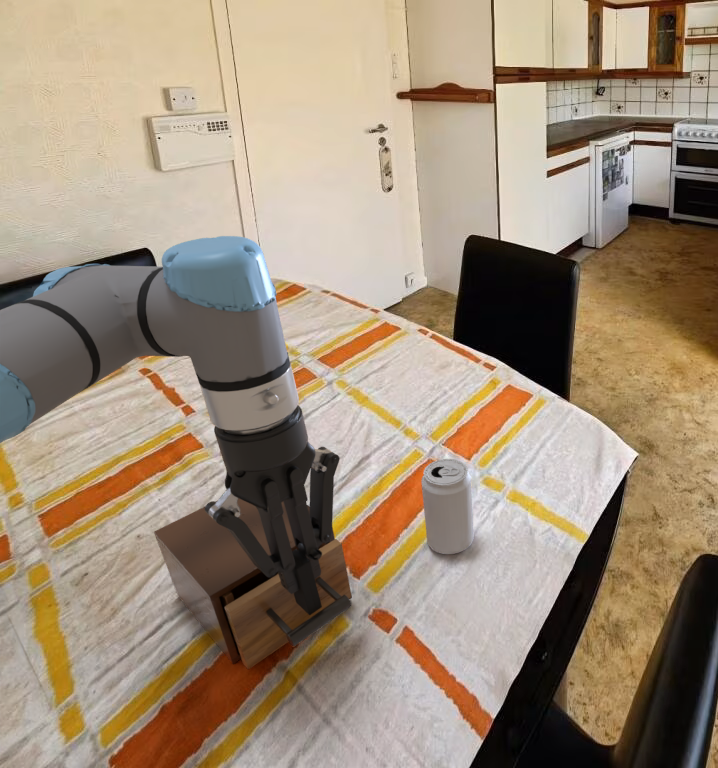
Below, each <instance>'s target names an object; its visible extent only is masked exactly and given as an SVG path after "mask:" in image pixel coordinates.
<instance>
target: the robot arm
mask: <svg viewBox="0 0 718 768" xmlns="http://www.w3.org/2000/svg"><path fill="white" fill-rule="evenodd" d="M161 256H162V257H161V265H162V266H156V265H155V266H154V265H153V266H150V265H148V266H147V265H110V264H107V263H104V264H100V263H86V264H84V265H78V266H67V267H66V266H65V267H60V268H57V269H55V270H53V271H51V272H49V273H48V274H46V275H45V277H44V278H43V280H42V281H41V283H40V285H39V286H37V287H36V289H35V290H34V291H33V294H32V296H31V297H29V298H27V299H24V300H21V301H19V302H17V303H14V304H12V305H9V306H7V307H4V308H2V309H0V444H1V443H3V442H5V441H7V440H10V439H12V438H14V437H16V436H18V435H20V434H21V433H24V432H25V431H26V429H27V428H28V427H29V426H30V425H32V424H33V423H35V422H36V421H38V420H39V419H41V418H43V417H44V416H46V415H47V414H49V413H50V412H51V411H53V410H54V409H57V407H59V406H61V405H62V404H64V403H65V402H67V401H69V400H70V399H72V398H73V397H75V396H77V395H78V394H80V393H81V392H84V391H85V390H86V389H88V388H90V387H91V386H93V385H95V384H97V383H98V382H100V381H102V380H103V379H105V378H106V377H107V376H109V375H111V374H112V373H115V372H116V371H118V370H119V369H121V368H122V367H124V366H126V365H127V364H129V363H130V362H132V361H134V360H135V359H139V358H142V357H173V358H179V357H189V358H190V360H191V364H192V366H193V369H194V372H195V375H196V378H197V382H198V384H199V386H200V389H201V393H202V397H203V401H204V403H205V407H206V410H207V414H208V417H209V421H210V423H211V425H213V426H214V428H213V432H214V435H215V439H216V442H217V445H218V448H219V451H220V455H221V458H222V462H223V464H224V467H225V470H226V474H225V479H224V487H225V491H224V492H223V493H222V495H220V497H219V498H218V499H217V500H218V501H217V500H216V501H217V502H215V501H214V500H211V501H209V502H207V504H206V505H205V506H204V507H205V512H206V513H207V514H208V515H209V516H210V517H211V518H213V519H214V520H215V521H216V522H217V523H218V524H219V525H221V526H223V527H226V528H227V529H228V530H229V531H230V533H231V534H232V535H233V537H234V538H235V539H236V541H237V542H238V543H239V545H240V546H241V547H242V549H243V550H244V551H245V553H246V554H247V555H248V557H249V558H250V559H251V561H252V562H253V563H254V565H255V566H256V567H257V568H258V569H259V570H260V571H261V572H263V573H264V574H265V575H266V576H267V577H273V576H274V575H275V574H276V573H277V572H278V574H279V577H280V581H281V584H282V586H283V587H284V588H285V589H286V590H287V591H288V592H289V593H291V594H293V593H294V597H295V600H296V603H297V604H298V605H299V606H300V607H301V608H302V609H303V610H304V611H306V612H307V613H308V614H309V615H311V614H313V613H314V612H316V611H317V610H318V609H320V608H321V607H322V605H321V601H320V597H319V593H318V590H317V586H316V582H315V579H316V578H317V577H319V576H320V575H321V568H320V564H319V559H320V558H321V556H322V552H321V551H320V550H319V549H318V548H319V547H320V545H321V544H322V543H328V542H329V541H330V540H331V538H332V527H333V518H334V517H333V516H334V515H333V514H334V486H335V485H334V482H335V474H336V471H337V469H338V466H339V463H340V459H341V458H340V456H339V455H338V454H336V452H334V451H332V450H330V449H329V448H327V447H326V446H319V447H318V448H315V447H314V446H313V445H312V444H311V443H310V442H309V435H308V431H307V425H306V423H305V418H304V414H303V409H302V407H301V406H300V405H299V403H300V396H299V393H298V388H297V385H296V380H295V375H294V371H293V368H292V367H293V366H292V363H291V361H290V356H289V352H288V350H287V345H286V340H285V336H284V331H283V326H282V321H281V317H280V313H279V307H278V302H277V297H276V296H277V289H276V287H275V284H274V283H273V282H272V278H271V274H270V270H269V268H268V266H267V261H266V258H265V254H264V251H263V250H262V248H261V246H260V245H259V244H258V243H257V242H256V241H254V240H253V239H250V238H248V237H245V236H238V235H237V236H236V235H220V236H216V237H202V238H196V239H191V240H187V241H184V242H180V243H177V244H175V245H172V246H170V247H169V248H167V249H166V250H165V251H164V252H163V254H162V255H161ZM308 476H309V507H310V510H309V511H308V507H307V505H308V503H307V502H308V495H307V491H306V487H305V485H306V482H307V480H308ZM238 499H241V500H243V501H246V502H248V503H250V504H252V505H254V506H256V508H257V510H258V512H259V515H260V519H261V522H262V526H263V529H264V532H265V536H266V539H267V543H268V546H269V550H270V553H271V555H268V554H267V553H266V551H265V550H264V548H263V547H262V546H261V544H260V543H259V542H258V540H257V539H256V537H255V536H254V535H253V533H252V532H251V530H250V529H249V528H248V526H247V525H246V524H245V522H243V521H242V520H241V519H240V518H239V516H240V515H241V513H240V507H239V506H238V504H237V501H238ZM282 502H284V505H285V509H286V513H287V516H288V520H289V524H290V527H291V531H292V535H293V538H294V542H295V545H296V547H298V550H299V551H298V550H297V549H295V550H294V551H292V549H291V546H290V542H289V538H288V534H287V531H286V527H285V523H284V520H283V516H282V515H283V514H284V512H283V508H282V504H281V503H282Z"/></svg>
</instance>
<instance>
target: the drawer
mask: <svg viewBox="0 0 718 768" xmlns="http://www.w3.org/2000/svg"><path fill="white" fill-rule="evenodd" d="M318 549H319V550H320V551H321V552H322V556H321V558H320V559H319V564H320V568H321V575H320V576H319V577H317V578H316V579H315V582H316V586H317V590H318V593H319V597H320V601H321V605H322V607H321V608H320V609H318V610H317V611H316V612H314V613H313V614H311V615H309V614H308V613H307V612H306V611H304V610H303V609H302V608H301V607H300V606H299V605H298V604H297V603H296V600H295V597H294V593H293V594H291V593H289V592H288V591H287V590H286V589H285V588H284V587H283V586H282V584H281V581H280V577H279V574H278V572H277V573H276V574H275V575H274V576H273V577H267V576H266V575H265V574H264V573H263V572H260V573H259V574H257V575H255V576H254V577H252V578H250V579H249V580H247V581H245V582H244V583H242V584H240V585H239V586H237V587H235V588H233V589H232V590H230V591H228V592H227V593H225V594H223V595H222V596H220V597H219V599H220V602H221V605H222V608H223V611H224V614H225V617H226V620H227V623H228V626H229V629H230V632H231V635H232V638H233V640H234V641H235V642H236V644H237V647H238V650H239V653H240V656H241V662H242V664H243V666H244V667H245V668H246V669H247V670H250V669H252V668H253V667H254V666H255V665H257V664H259V663H260V662H261V661H263V660H264V659H266V658H268V657H269V656H270V655H272V654H273V653H275V652H276V651H277V650H279V649H281V648H282V647H283V646H285V645H286V644H287V643H289V646H291V647H293V648H294V647H296V646H297V645H299V644H300V643H302V642H303V641H305V640H306V639H307V638H309V637H310V636H312V635H313V634H314V633H317V632H318V631H319V630H320V629H322V628H323V627H324V626H326V625H327V624H329V623H330V622H331V621H333V620H335V618H338V617H339V616H340V615H341V614H343V613H344V612H346V611H347V610H349V609H351V607H352V602H351V599H352V598H353V595H352V590H351V585H350V581H349V576H348V569H347V564H346V558H345V554H344V548H343V543H342V542H341V541H339V540H338V539H337V538H335V540H333V541H332V542H330V543H328V544H327V545H326V543H322V544H321V545H320V547H319V548H318ZM298 551H299V550H298Z"/></svg>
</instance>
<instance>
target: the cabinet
mask: <svg viewBox="0 0 718 768" xmlns="http://www.w3.org/2000/svg"><path fill="white" fill-rule="evenodd" d="M218 500H219V499H217V500H216V501H215V502H217V501H218ZM237 504H238V506H239V507H240V513H241V515H240V516H239V518H240V519H241V520H242V521H243V522H245V524H246V525H247V526H248V528H249V529H250V530H251V532H252V533H253V535H254V536H255V537H256V539H257V540H258V542H259V543H260V544H261V546H262V547H263V548H264V550H265V551H266V553H267V554H268V555H271V553H270V550H269V546H268V543H267V539H266V536H265V532H264V529H263V526H262V522H261V519H260V515H259V512H258V510H257V508H256V506H254V505H252V504H250V503H248V502H246V501H243V500H241V499H238V501H237ZM281 504H282V508H283V512H284V514H283V515H282V516H283V520H284V523H285V527H286V531H287V534H288V538H289V542H290V546H291V549H292V551H294V550H295V549H297V550H298V547H296V545H295V542H294V538H293V535H292V531H291V527H290V524H289V520H288V516H287V513H286V509H285V505H284V502H282V503H281ZM307 507H308V511H309V510H310V505H309V504H307ZM153 535H154V536H155V539H156V542H157V544H158V548H159V550H160V552H161V556H162V557H163V560H164V563H165V566H166V568H167V570H168V571H167V572H168V573H169V576H170V578H171V581H172V585H173V587H174V589H175V592H176V595H177V597H178V598H179V600H180V601H181V602H182V603H183V605H184V606H185V607H186V608H187V610H188V611H189V612H190V613H191V615H192V616H193V617H194V619H196V621H197V622H198V623H199V624H200V626H201V627H202V628H203V629H204V630H205V632H206V633H207V634H208V636H209V637H210V638H211V639H212V640H213V642H214V643H215V645H216V646H217V647H218V648H219V649H220V650H221V652H222V653H223V654H224V655H225V656H226V658H227V657H228V658H227V660H229V662H230V663H231V662H232V663H231V664H232V665H235V664H236V663H237V662H236V661H238V660H239V661H241V660H242V659H241V656H240V653H239V650H238V647H237V644H236V642H235V641H234V640H233V638H232V635H231V632H230V629H229V626H228V623H227V620H226V617H225V614H224V611H223V608H222V605H221V602H220V599H219V597H220V596H222V595H223V594H225V593H227V592H228V591H230V590H232V589H233V588H235V587H237V586H239V585H240V584H242V583H244V582H245V581H247V580H249V579H250V578H252V577H254V576H255V575H257V574H259V573H260V572H261V571H260V570H259V569H258V568H257V567H256V566H255V565H254V563H253V562H252V561H251V559H250V558H249V557H248V555H247V554H246V553H245V551H244V550H243V549H242V547H241V546H240V545H239V543H238V542H237V541H236V539H235V538H234V537H233V535H232V534H231V533H230V531H229V530H228V529H227V528H226V527H223V526H221V525H219V524H218V523H217V522H216V521H215V520H214V519H213V518H211V517H210V516H209V515H208V514H207V513H206V512H205V506H203V507H201V508H199V509H197V510H195V511H193V512H191V513H189V514H186V515H185V516H183V517H181V518H179V519H177V520H175V521H173V522H171V523H168V524H166V525H165V526H163V527H160V528H158V529H157V530H154V531H153ZM335 539H336V538H335V533H334V528H333V526H332V538H331V540H330V541H329V542H328V543H330V542H332V541H333V540H335ZM328 543H326V545H327V544H328ZM240 659H241V660H240ZM239 661H238V662H239ZM235 662H236V663H235ZM234 663H235V664H234Z"/></svg>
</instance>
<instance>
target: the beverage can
mask: <svg viewBox="0 0 718 768" xmlns="http://www.w3.org/2000/svg"><path fill="white" fill-rule="evenodd" d="M420 483H421V491H422V492H421V493H422V502H423V513H424V523H425V532H426V541H427V544H428V546H429V547H430V548H431V549H432V551H434V552H435V553H439V554H442V555H454V554H458V553H461V552H464V551H465V550H467V549H468V548H469V547H470V546H471V544H472V543H473V541H474V538H475V537H474V536H475V532H474V531H475V530H474V513H473V512H474V511H473V493H472V492H473V491H472V476H471V473H470V472H469V471H468V467H467V465H466V464H465V463H464V462H462V461H461V460H458V459H455V458H440V459H436V460H434V461H432V462H430V463H429V464H428V465H426V467H425V468H424V470H423V476H422V477H421V481H420Z"/></svg>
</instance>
